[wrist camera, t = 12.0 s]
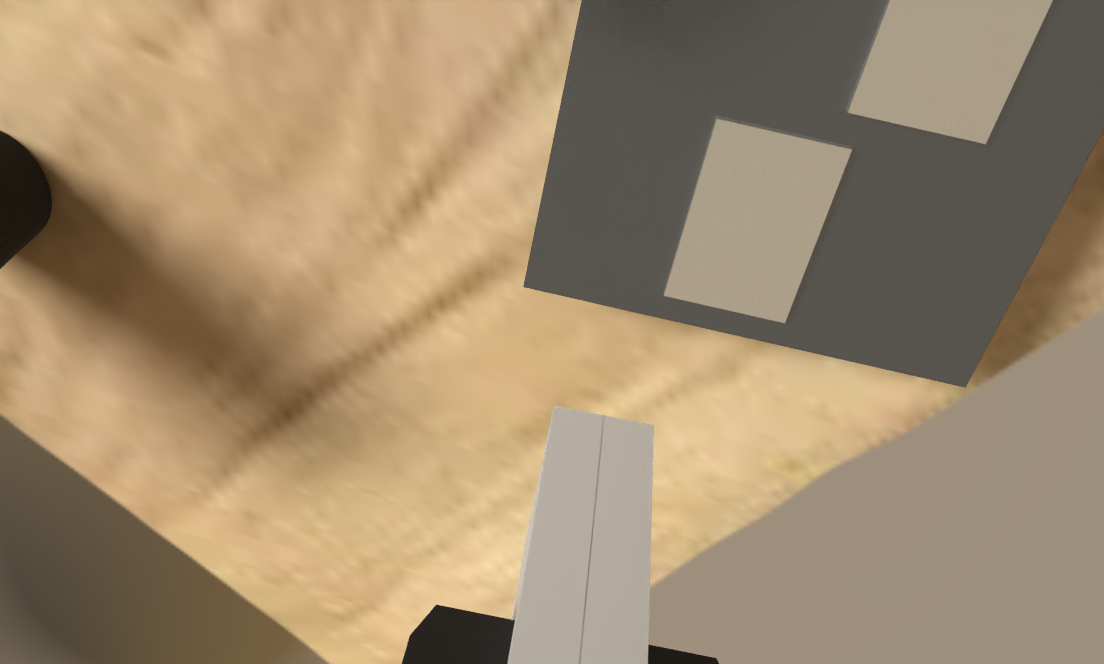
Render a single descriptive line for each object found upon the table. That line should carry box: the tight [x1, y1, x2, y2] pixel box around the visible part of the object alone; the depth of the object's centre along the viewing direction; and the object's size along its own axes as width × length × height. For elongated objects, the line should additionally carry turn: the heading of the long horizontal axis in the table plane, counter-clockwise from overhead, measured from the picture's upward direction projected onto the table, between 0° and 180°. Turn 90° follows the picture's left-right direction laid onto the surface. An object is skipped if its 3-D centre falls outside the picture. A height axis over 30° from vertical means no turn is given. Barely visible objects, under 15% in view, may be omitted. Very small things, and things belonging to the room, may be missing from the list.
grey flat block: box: [523, 0, 1104, 387], centre depth 27 cm, size 20×15×5 cm
